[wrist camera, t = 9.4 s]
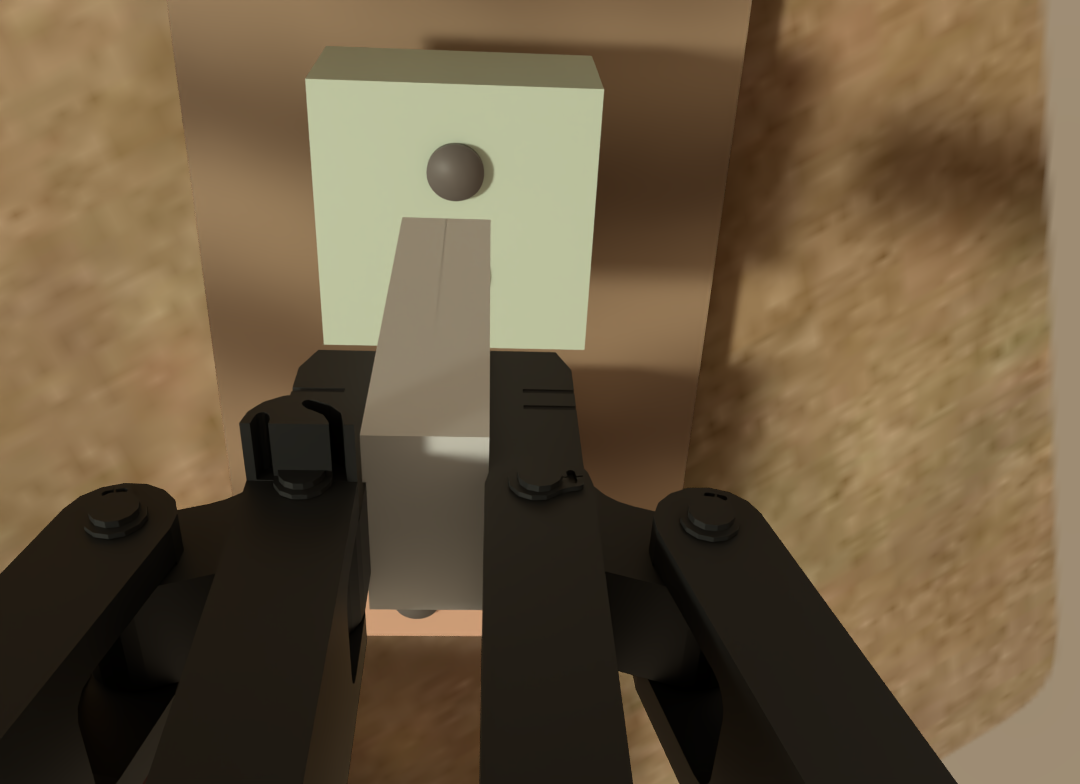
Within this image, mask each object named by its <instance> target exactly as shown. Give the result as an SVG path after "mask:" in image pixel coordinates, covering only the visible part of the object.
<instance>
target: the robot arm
mask: <svg viewBox="0 0 1080 784" xmlns="http://www.w3.org/2000/svg"><path fill="white" fill-rule="evenodd" d="M490 232H491V220H487V219H451V218H415V217H402V221H401V226H400V231H399V237H398V242H397V247H396V252H395V257H394V262H393V267H392V272H391V278H390V283H389V288H388V293H387V298H386V303H385V308H384V313H383V319H382V324H381V329H380V334H379V339H378V344H377V349H376V351H355V350H318V351H317V352H315V353H314V354H313V355H312V356H311V357H310V358H309V359H308V360H306V361H305V362H304V363H303V364H302V365H301V366H300V367H299V368H298V371H297V375H296V378H295V381H294V384H293V387H292V391H291V394H290V395H286V396H281V397H278V398H274V399H271V400H268V401H264V402H262V403H261V404H259V405H257V406H256V407H254V408H252V409H251V410H249V411H248V412H247V413H246V414H245V416H244V417H243V418H242V420H241V421H240V422H239V427H240V435H241V443H242V450H243V458H244V465H245V473H246V483H245V486H244V489H243V492H241V493H239V494H237V495H235V496H233V497H230V498H228V499H226V500H222V501H218V502H214V503H211V504H207V505H201V506H196V507H191V508H186V509H181V510H177V507H176V502H175V499H174V498H173V497H171V496H170V495H169V494H168V493H167V492H166V491H165V490H163V489H160V488H157V487H154V486H151V485H148V484H133V483H123V484H118V485H112V486H107V487H102V488H99V489H97V490H94V491H92V492H89V493H87V494H85V495H82V496H80V497H79V498H77V499H76V500H75V501H73V502H72V503H71V504H69V505H68V506H67V507H65V508H64V509H63V510H62V511H61V512H60V513H59V514H58V515H57V516H56V517H55V518H54V519H53V520H52V521H51V522H50V523H49V524H48V525H47V526H46V527H45V528H44V529H43V530H42V531H41V532H40V534H39V535H38V536H37V537H36V538H35V539H34V540H33V541H32V542H31V543H30V544H29V545H28V546H27V547H26V548H25V549H24V550H23V551H22V552H21V553H20V554H19V555H18V556H17V557H16V558H15V559H14V560H13V561H12V562H11V563H10V565H9V566H8V567H7V568H6V569H5V570H4V571H3V572H2V573H1V574H0V784H143V782H144V780H145V779H146V777H147V776H148V777H147V780H146V783H145V784H347V781H348V774H349V767H350V760H351V752H352V745H353V738H354V731H355V723H356V716H357V709H358V702H359V694H360V687H361V680H362V673H363V665H364V658H365V651H366V644H367V630H366V614H365V609H366V602H367V596H368V590H369V607H370V609H386V610H482V650H481V713H480V774H479V784H633V780H632V772H631V765H630V757H629V750H628V742H627V735H626V727H625V720H624V712H623V704H622V697H621V689H620V682H619V674H618V671H620V672H624V673H627V674H631V675H633V678H634V683H635V688H636V691H637V693H638V695H639V697H640V699H641V702H642V704H643V706H644V708H645V710H646V712H647V715H648V717H649V719H650V721H651V723H652V725H653V728H654V730H655V732H656V734H657V736H658V738H659V741H660V743H661V745H662V747H663V749H664V751H665V754H666V756H667V758H668V760H669V762H670V764H671V766H672V769H673V771H674V773H675V775H676V777H677V779H678V782H679V784H958V783H957V782H956V781H955V779H954V778H953V777H952V775H951V774H950V772H949V771H948V770H947V769H946V767H945V766H944V764H943V763H942V761H941V760H940V759H939V757H938V756H937V755H936V753H935V752H934V751H933V749H932V748H931V746H930V745H929V744H928V742H927V741H926V740H925V738H924V737H923V735H922V734H921V733H920V731H919V730H918V729H917V727H916V726H915V724H914V723H913V722H912V720H911V719H910V718H909V716H908V715H907V713H906V712H905V711H904V709H903V708H902V707H901V705H900V704H899V702H898V701H897V700H896V698H895V697H894V696H893V694H892V693H891V691H890V690H889V689H888V687H887V686H886V685H885V683H884V682H883V680H882V679H881V678H880V676H879V675H878V674H877V672H876V671H875V669H874V668H873V667H872V665H871V664H870V663H869V661H868V660H867V658H866V657H865V656H864V654H863V653H862V652H861V650H860V649H859V647H858V646H857V645H856V643H855V642H854V641H853V639H852V638H851V636H850V635H849V634H848V632H847V631H846V630H845V628H844V627H843V625H842V624H841V623H840V621H839V620H838V619H837V617H836V616H835V614H834V613H833V612H832V610H831V609H830V608H829V606H828V605H827V604H826V602H825V601H824V599H823V598H822V597H821V595H820V594H819V593H818V591H817V590H816V588H815V587H814V586H813V584H812V583H811V582H810V580H809V579H808V577H807V576H806V575H805V573H804V572H803V571H802V569H801V568H800V566H799V565H798V564H797V562H796V561H795V560H794V558H793V557H792V555H791V554H790V553H789V551H788V550H787V549H786V547H785V546H784V544H783V543H782V542H781V540H780V539H779V538H778V536H777V535H776V533H775V532H774V531H773V529H772V528H771V527H770V525H769V524H768V522H767V521H766V520H765V518H764V517H763V516H762V514H761V513H760V512H759V511H758V510H757V509H756V508H754V507H753V506H752V505H751V504H750V503H749V502H748V501H746V500H744V499H742V498H740V497H738V496H736V495H734V494H732V493H730V492H726V491H721V490H717V489H712V488H686V489H683V490H680V491H676V492H673V493H670V494H669V495H667V496H666V497H665V498H664V499H662V500H661V501H660V502H658V505H657V507H656V510H655V511H652V510H647V509H643V508H639V507H634V506H631V505H628V504H625V503H621V502H618V501H616V500H614V499H612V498H610V497H608V496H606V495H605V494H603V493H602V492H601V491H599V490H598V489H597V488H596V487H594V486H593V482H592V480H591V478H590V476H589V474H588V472H587V471H586V470H585V469H584V466H583V458H582V450H581V442H580V434H579V426H578V418H577V410H576V403H575V395H574V387H573V379H572V371H571V369H570V368H569V367H568V366H567V365H566V363H565V362H564V361H563V360H562V359H561V358H560V357H559V356H558V355H557V353H556V352H524V351H490Z"/></svg>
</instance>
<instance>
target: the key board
mask: <svg viewBox="0 0 1080 784" xmlns="http://www.w3.org/2000/svg"><path fill="white" fill-rule="evenodd" d="M751 4H752V0H167V7H168V14H169V22H170V30H171V37H172V45H173V52H174V60H175V67H176V75H177V82H178V90H179V97H180V105H181V112H182V120H183V127H184V135H185V143H186V150H187V158H188V165H189V173H190V180H191V188H192V195H193V203H194V210H195V218H196V225H197V233H198V240H199V248H200V256H201V263H202V271H203V278H204V286H205V293H206V301H207V308H208V316H209V323H210V331H211V338H212V346H213V353H214V361H215V369H216V376H217V384H218V391H219V399H220V406H221V414H222V421H223V429H224V436H225V444H226V451H227V459H228V466H229V474H230V482H231V489H232V497H233V496H235V495H237V494H239V493H241V492H243V489H244V486H245V483H246V473H245V465H244V458H243V450H242V443H241V435H240V427H239V422H240V421H241V420H242V418H243V417H244V416H245V414H246V413H247V412H248V411H249V410H251V409H252V408H254V407H256V406H257V405H259V404H261V403H262V402H264V401H268V400H271V399H274V398H278V397H281V396H286V395H290V394H291V391H292V387H293V384H294V381H295V378H296V375H297V371H298V368H299V367H300V366H301V365H302V364H303V363H304V362H305V361H306V360H308V359H309V358H310V357H311V356H312V355H313V354H314V353H315V352H317V351H318V350H355V351H376V349H377V346H370V345H324V339H323V325H322V311H321V297H320V283H319V268H318V254H317V240H316V226H315V212H314V197H313V183H312V169H311V155H310V141H309V126H308V112H307V98H306V84H305V78H306V77H307V75H308V74H309V72H310V70H311V69H312V67H313V66H314V64H315V63H316V61H317V59H318V58H319V56H320V55H321V53H322V52H323V50H324V49H325V47H326V46H341V47H368V48H395V49H422V50H449V51H476V52H504V53H531V54H558V55H585V56H592V58H593V60H594V63H595V66H596V69H597V71H598V74H599V77H600V79H601V82H602V85H603V88H604V97H603V110H602V124H601V137H600V150H599V164H598V177H597V190H596V203H595V217H594V230H593V243H592V256H591V270H590V283H589V296H588V310H587V323H586V336H585V349H584V350H563V349H515V348H490V351H524V352H556V353H557V355H558V356H559V357H560V358H561V359H562V360H563V361H564V362H565V363H566V365H567V366H568V367H569V368H570V369H571V371H572V379H573V387H574V395H575V403H576V410H577V418H578V426H579V434H580V442H581V450H582V458H583V466H584V469H585V470H586V471H587V472H588V474H589V476H590V478H591V480H592V482H593V486H594V487H596V488H597V489H598V490H599V491H601V492H602V493H603V494H605V495H606V496H608V497H610V498H612V499H614V500H616V501H618V502H621V503H625V504H628V505H631V506H634V507H639V508H643V509H647V510H652V511H655V510H656V507H657V505H658V502H660V501H661V500H662V499H664V498H665V497H666V496H667V495H669V494H670V493H673V492H676V491H680V490H683V485H684V478H685V471H686V464H687V457H688V450H689V443H690V435H691V428H692V421H693V414H694V407H695V400H696V393H697V386H698V379H699V372H700V365H701V358H702V351H703V344H704V337H705V329H706V322H707V315H708V308H709V301H710V294H711V287H712V280H713V273H714V266H715V259H716V252H717V245H718V238H719V231H720V223H721V216H722V209H723V202H724V195H725V188H726V181H727V174H728V167H729V160H730V153H731V146H732V139H733V132H734V124H735V117H736V110H737V103H738V96H739V89H740V82H741V75H742V68H743V61H744V54H745V47H746V40H747V33H748V26H749V18H750V11H751Z"/></svg>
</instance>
